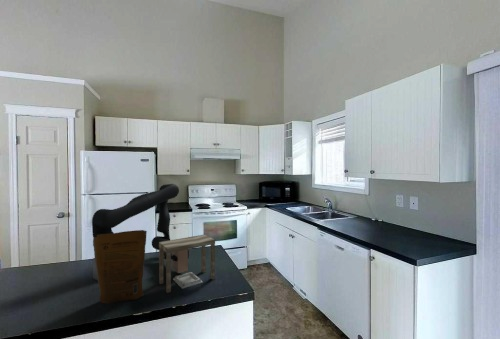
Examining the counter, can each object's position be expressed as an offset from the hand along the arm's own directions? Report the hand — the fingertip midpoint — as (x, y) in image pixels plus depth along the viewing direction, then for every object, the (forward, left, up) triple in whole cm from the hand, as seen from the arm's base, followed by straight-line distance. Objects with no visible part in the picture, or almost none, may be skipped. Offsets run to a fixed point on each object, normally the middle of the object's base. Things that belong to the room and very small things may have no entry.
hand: (182, 258), depth 123 cm
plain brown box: (+1, +3, -6) cm, 7 cm away
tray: (-2, -6, -9) cm, 11 cm away
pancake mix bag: (-29, +1, -9) cm, 30 cm away
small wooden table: (-2, -6, -9) cm, 11 cm away
